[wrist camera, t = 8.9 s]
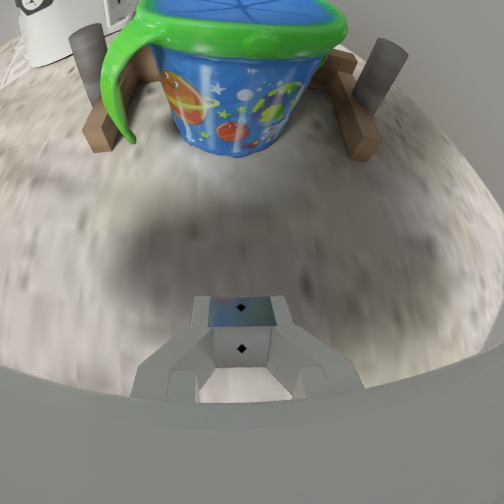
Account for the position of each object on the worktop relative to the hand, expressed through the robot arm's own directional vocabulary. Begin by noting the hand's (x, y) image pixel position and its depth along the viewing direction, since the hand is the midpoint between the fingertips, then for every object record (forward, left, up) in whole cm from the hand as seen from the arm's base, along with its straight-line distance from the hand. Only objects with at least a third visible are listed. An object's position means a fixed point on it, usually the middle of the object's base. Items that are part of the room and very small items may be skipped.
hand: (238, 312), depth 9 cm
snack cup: (-14, 0, -5) cm, 15 cm away
